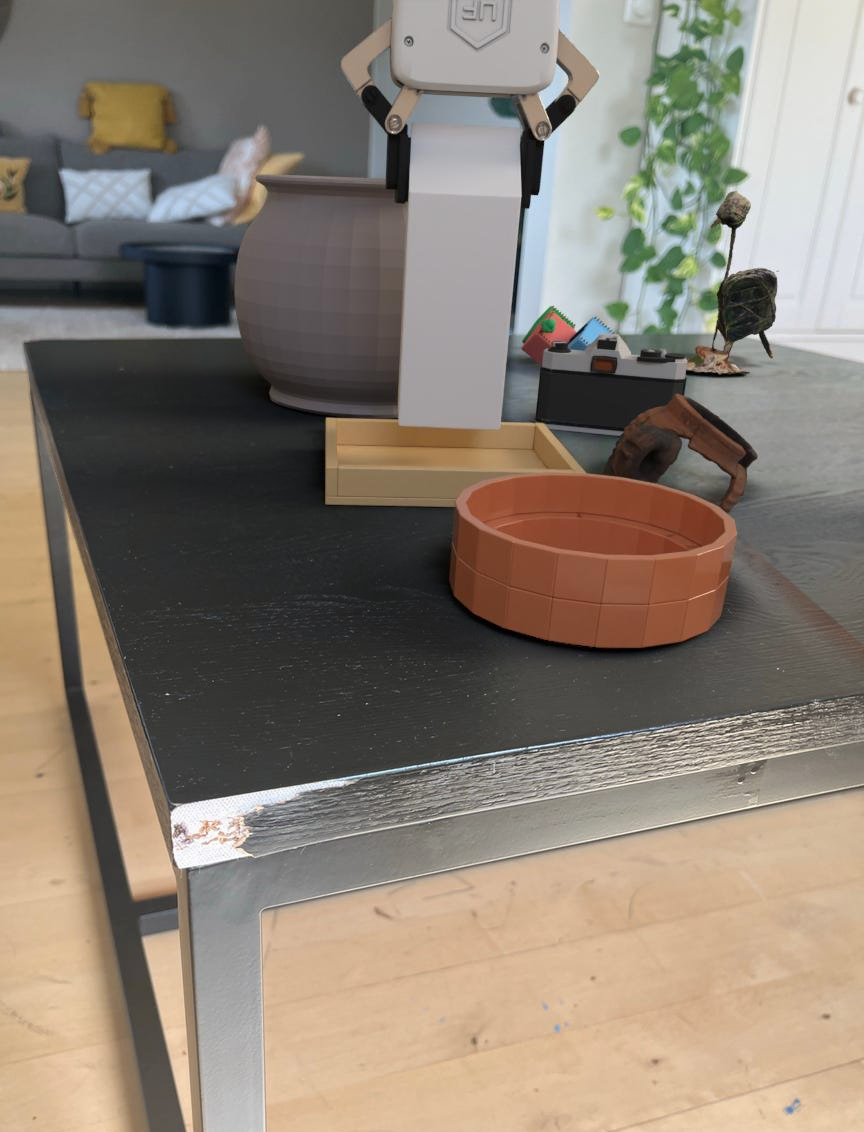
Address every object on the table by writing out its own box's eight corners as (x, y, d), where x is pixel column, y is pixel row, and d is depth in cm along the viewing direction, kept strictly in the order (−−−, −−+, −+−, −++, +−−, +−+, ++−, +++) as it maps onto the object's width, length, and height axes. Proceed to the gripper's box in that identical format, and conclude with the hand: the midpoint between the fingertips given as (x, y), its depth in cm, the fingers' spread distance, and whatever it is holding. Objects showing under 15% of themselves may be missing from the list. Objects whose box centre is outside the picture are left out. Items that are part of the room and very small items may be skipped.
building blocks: (554, 404, 121) (606, 360, 110) (503, 362, 120) (551, 313, 109) (583, 360, 124) (637, 313, 113) (534, 318, 123) (583, 267, 112)
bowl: (668, 554, 60) (682, 474, 58) (762, 659, 47) (784, 561, 45) (437, 551, 59) (442, 469, 57) (468, 656, 46) (476, 556, 44)
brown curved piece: (618, 477, 77) (689, 389, 73) (707, 557, 73) (787, 469, 70) (549, 466, 67) (627, 365, 64) (648, 558, 64) (736, 456, 60)
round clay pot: (184, 406, 92) (172, 171, 83) (314, 367, 112) (316, 175, 104) (430, 443, 83) (445, 183, 74) (523, 393, 103) (543, 185, 95)
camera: (678, 424, 93) (687, 324, 89) (682, 442, 86) (691, 335, 82) (539, 422, 96) (542, 326, 92) (532, 440, 89) (535, 336, 85)
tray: (540, 454, 81) (543, 422, 80) (582, 509, 68) (587, 473, 66) (325, 449, 80) (325, 417, 78) (325, 505, 66) (325, 467, 65)
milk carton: (500, 432, 68) (528, 124, 60) (397, 428, 68) (412, 119, 60) (490, 411, 75) (515, 130, 67) (397, 407, 75) (410, 125, 67)
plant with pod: (770, 383, 114) (808, 194, 106) (670, 373, 117) (699, 189, 109) (768, 371, 121) (804, 193, 113) (674, 363, 124) (702, 189, 116)
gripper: (335, -151, 54) (330, 201, 62) (646, -131, 55) (603, 212, 63) (334, -115, 61) (329, 198, 68) (611, -98, 62) (576, 208, 70)
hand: (461, 203), depth 66 cm, fingers closed on milk carton, 7 cm apart
